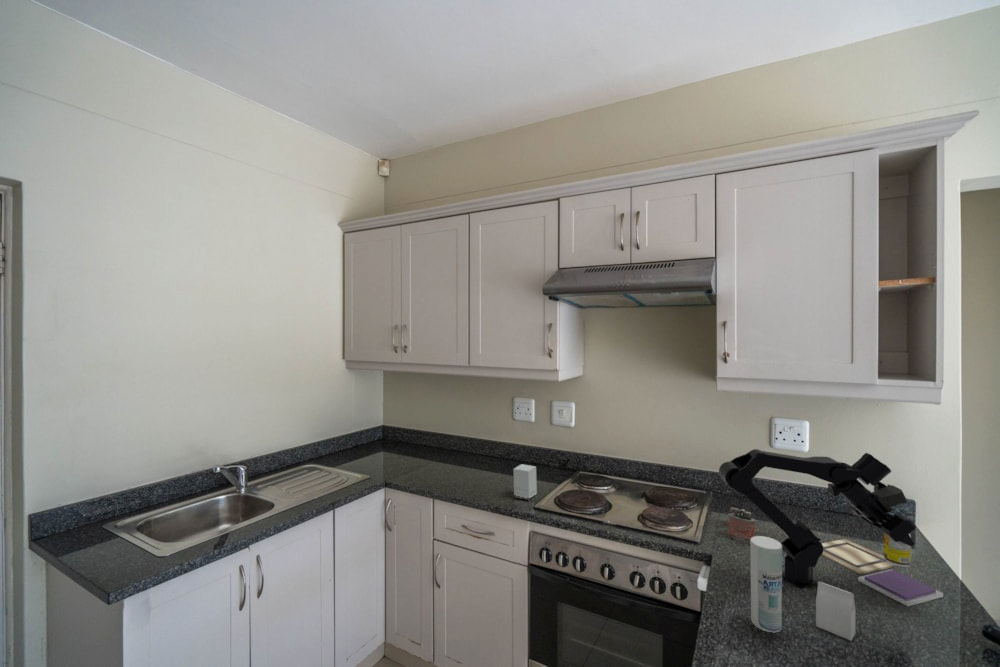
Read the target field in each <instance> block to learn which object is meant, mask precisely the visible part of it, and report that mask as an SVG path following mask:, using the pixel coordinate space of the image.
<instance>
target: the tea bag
mask: <svg viewBox="0 0 1000 667" xmlns="http://www.w3.org/2000/svg"><path fill="white" fill-rule="evenodd" d="M817 583H818V584H817V592H816V597H815V598H816V599H815V627H817V628H820V629H822V630H824V631H826V632H829V633H832V634H834V635H835V636H839V637H841V638H843V639H846V640H848V641H850V642H852V641H853V639H854V637H855V635H856V605H855V604H856V602H855V594H854V593H853V592H851V591H848V590H845V589H841V588H839V587H837V586H833V585H830V584H827V583H826V582H822V581H817Z"/></svg>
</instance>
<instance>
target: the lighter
mask: <svg viewBox="0 0 1000 667" xmlns="http://www.w3.org/2000/svg"><path fill="white" fill-rule="evenodd" d="M730 512H731V513H728V538H730V539H732V538H733V539H732V540H735V539H736V540H735V541H737V542H741V543H745V544H750V540H751V538H752V537H754V536H756V519H755V518H753V517H752V512H751V511H747V510H746V509H743V508H742V509H739V508H736V507H730Z"/></svg>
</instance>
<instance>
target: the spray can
mask: <svg viewBox="0 0 1000 667" xmlns="http://www.w3.org/2000/svg"><path fill="white" fill-rule="evenodd" d="M781 543H782V542H780V541H778V540H777V539H774V538H773V537H772V538H771V537H768V536H764V535H755V536H754V537H752V538H751V540H750V545H749V546H750V549H749V550H750V551H749V553H750V560H749V561H750V620H751V624H752V623H753V624H754V625H755V626H756V627H758V628H759V629H761V630H763V631H767V632H773V633H775V632H779V631H780V630H781V631H782V627H783V626H782V623H783V622H782V620H783V619H782V618H783V617H782V614H783V613H782V610H783V605H782V604H783V603H782V602H783V601H782V600H783V593H782V591H783V590H782V589H783V578H782V573H783V550H782V545H781ZM753 624H752V625H753ZM756 627H755V628H756ZM781 631H780V632H781Z"/></svg>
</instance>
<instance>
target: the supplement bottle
mask: <svg viewBox="0 0 1000 667" xmlns="http://www.w3.org/2000/svg"><path fill="white" fill-rule="evenodd" d="M909 535H910V537H911V538H912V536H911V533H909ZM883 556H884V559H885V560H886V561H887V562H889V563H891V564H893V565H896V567H902V568H908V567H910V566H911V565H912V564H911V563H912V546H909V545H907V544H904V543H902V542H900V541H899V542H895V541H894V540H892V539H891V538H889V537H888V536H887V535H885V534H884V533H883Z"/></svg>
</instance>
